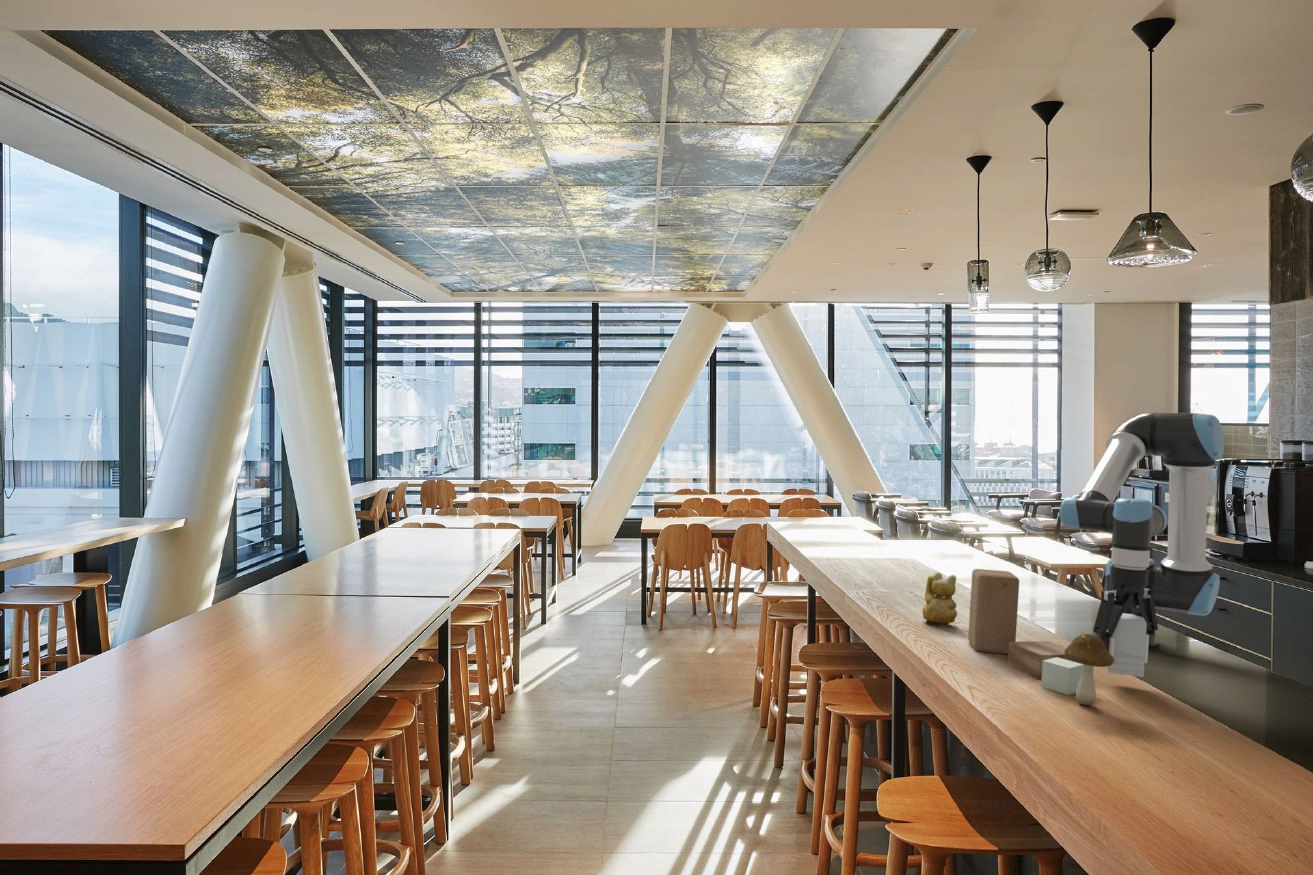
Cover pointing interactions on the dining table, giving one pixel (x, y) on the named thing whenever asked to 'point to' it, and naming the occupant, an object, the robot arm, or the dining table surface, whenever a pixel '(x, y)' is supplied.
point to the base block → (1033, 656)
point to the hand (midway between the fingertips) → (1123, 663)
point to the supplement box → (1129, 646)
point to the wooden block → (993, 610)
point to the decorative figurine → (940, 600)
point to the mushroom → (1088, 663)
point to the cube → (1061, 675)
